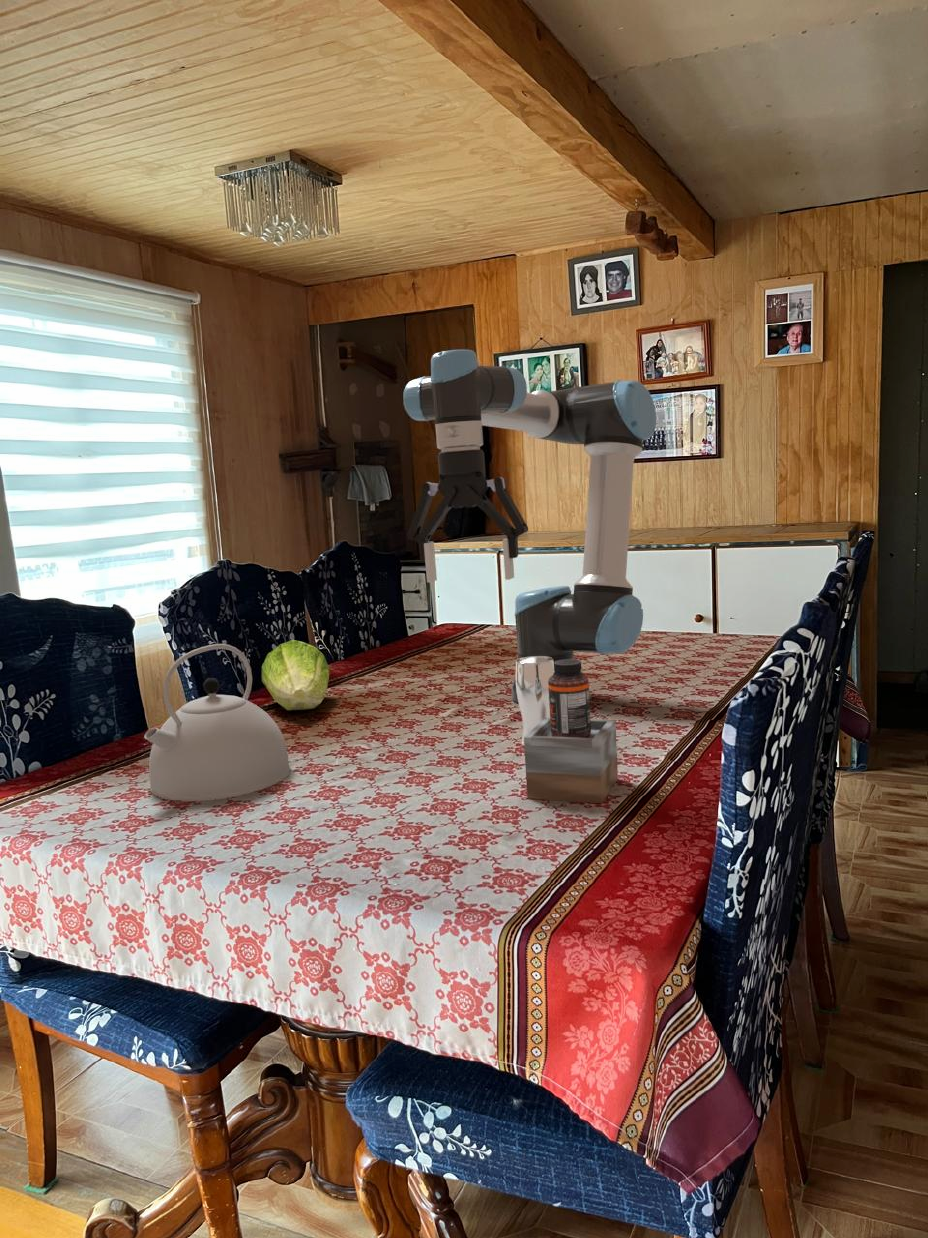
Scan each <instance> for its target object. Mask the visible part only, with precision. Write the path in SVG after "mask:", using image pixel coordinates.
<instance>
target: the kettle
mask: <svg viewBox="0 0 928 1238" xmlns="http://www.w3.org/2000/svg"><path fill="white" fill-rule="evenodd" d="M213 650H227V651H231V652H233V653H234V654H236V656H238V657H239V658H240V659H241V661H242V663H243V665H244V668H245V670H246V678H247V679H246V680H247V681H246V688H245V692H244V694H243V696H242V697H239V696H236V695H231V694H230V695H229V694H228V695H227V694H217V692H218V691H219V690H220V688H221V687H220V682H219V680H218V679H217V678H214V677H209V678H206V679H205V681H204V682H203V684H202V686H203V690H204V692H205V693H207V695H206V696H202V697H198V698H197V699H193V700H190V701H189V702H187V703H185V704H184V705H182V706H181V707H179V709H178V710H176V711H175V709H174V707H173V705H172V702H171V697H170V683H171V680H172V676H173V674H174V672H175V671H176V670H177V668H178V667H179V666H180V665H181V664H182V663H183V662H184V661H186V660H188V659H189V658H192V657H193V656H196V655H198V654H199V655H200V654H201V653H205V652H209V651H213ZM252 684H253V675H252V668H251V665H250V663H249V660H248V658H247V657H246V655H245V654H244V653H243V652H242V650H240V649H238V648H237V647H235V646H232V645H230V644H223V643H214V644H209V645H206V646H201V647H199V648H196V649H193V650H190V651H189V652H187V653H185V654H183V655H182V656H180V657H179V658H177V659H176V660H175V661H174V663H173V664H172V665H171V666H170V668H169V669H168V672H167V673H166V675H165V678H164V683H163V699H164V704H165V706H166V710H167V711H168V713H169V715H170V716H169V717H168V718H167V720H166V721H165V722H164V723H163V725H162V726H161V727H160V728H158V727H154V728H152V729H149V730H148V731H146V733H145V734H144V737H143V739H145V740H147V741H148V742H150V743H152V746H151V750H150V753H149V761H148V763H149V765H148V770H149V771H148V774H149V784H150V786H149V790H150V792H151V794H152V795H154V796H156V797H157V796H158V798H160V797H161V799H163V800H167V801H168V800H170V801H176V800H181V801H180V802H204V801H205V802H206V801H213V800H215V799H216V800H222V799H229V798H235V797H239V796H244V795H248V794H250V793H255V792H258V791H262V790H264V789H267V788H269V787H271V786H274V785H276V784H278V783H280V782H281V781H283V780H285V778H286V777H288V776H289V774H290V771H291V769H290V763H289V761H290V760H289V754H288V749H287V745H286V741H285V738H284V736H283V733H282V730H281V729H280V727H279V726H278V724H277V723H276V721H275V720H274V719H273V718H272V717H271V716H270V715H269V714H268V713H267V712H266V711H265V710H263V709H262V708H261V707H260V706H258V705H257V704H255V703H253V702H251V701H249V700H248V699H249V697H250V693H251V690H252V686H253V685H252Z"/></svg>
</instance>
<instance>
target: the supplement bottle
mask: <svg viewBox="0 0 928 1238" xmlns="http://www.w3.org/2000/svg"><path fill="white" fill-rule="evenodd" d="M582 670H583V668H582V661H581V660H580V659H576V658H575V659H563V660H557V661H555V662H554V674H553V676H551V677H550V678H549V681H548V687H549V688H548V690H549V707H550V726H551V735H552V736H553V737H577V738H586V737H588V736H589V735H590V734H591V719H592V718H591V704H590V703H591V701H590V700H591V699H590V683H589V682H590V681H589V678H588V676H587V674H584V673H583V672H582Z"/></svg>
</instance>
